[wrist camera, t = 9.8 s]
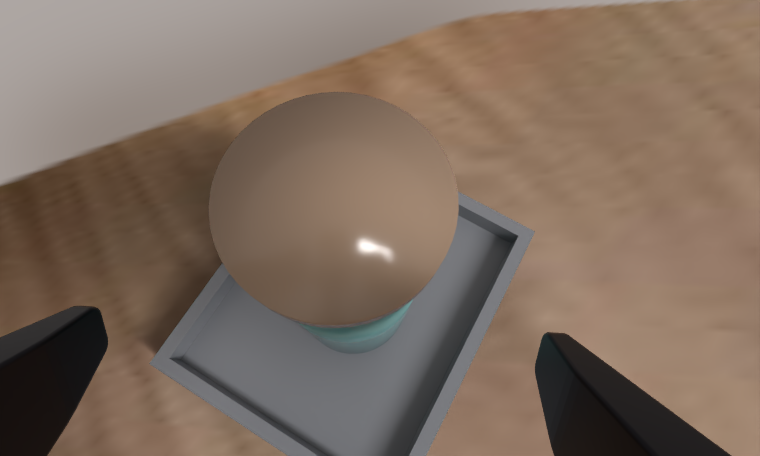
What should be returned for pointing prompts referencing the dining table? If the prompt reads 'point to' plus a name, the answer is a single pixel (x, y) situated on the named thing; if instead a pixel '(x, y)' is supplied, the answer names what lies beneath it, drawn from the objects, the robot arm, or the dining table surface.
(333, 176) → the teal jar
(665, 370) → the dining table surface
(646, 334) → the dining table surface
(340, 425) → the charcoal tray
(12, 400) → the robot arm
